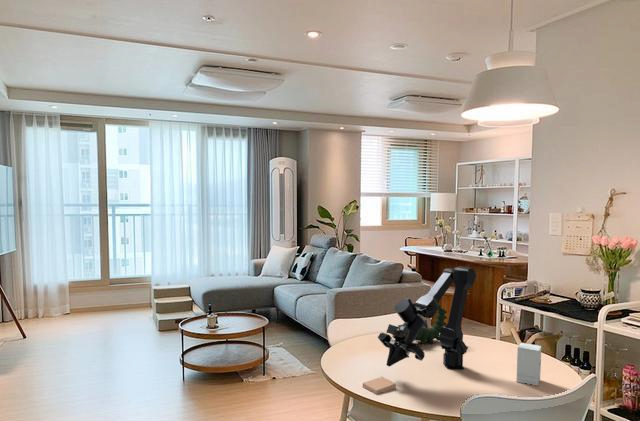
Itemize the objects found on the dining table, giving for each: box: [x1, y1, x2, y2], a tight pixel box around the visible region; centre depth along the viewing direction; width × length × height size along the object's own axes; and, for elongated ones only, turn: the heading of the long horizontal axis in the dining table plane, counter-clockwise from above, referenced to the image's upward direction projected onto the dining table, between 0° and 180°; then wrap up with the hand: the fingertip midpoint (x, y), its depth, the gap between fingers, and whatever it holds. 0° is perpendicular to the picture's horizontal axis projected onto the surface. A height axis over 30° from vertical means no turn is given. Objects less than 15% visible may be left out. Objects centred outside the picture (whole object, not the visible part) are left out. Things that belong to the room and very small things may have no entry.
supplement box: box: [516, 342, 542, 386], centre depth 166 cm, size 7×7×13 cm
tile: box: [362, 376, 397, 395], centre depth 158 cm, size 2×7×9 cm
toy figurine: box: [397, 303, 448, 345], centre depth 209 cm, size 9×19×25 cm
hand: (387, 365), depth 160 cm, fingers closed
